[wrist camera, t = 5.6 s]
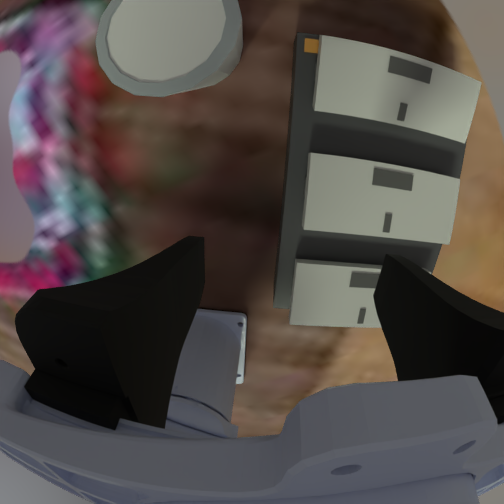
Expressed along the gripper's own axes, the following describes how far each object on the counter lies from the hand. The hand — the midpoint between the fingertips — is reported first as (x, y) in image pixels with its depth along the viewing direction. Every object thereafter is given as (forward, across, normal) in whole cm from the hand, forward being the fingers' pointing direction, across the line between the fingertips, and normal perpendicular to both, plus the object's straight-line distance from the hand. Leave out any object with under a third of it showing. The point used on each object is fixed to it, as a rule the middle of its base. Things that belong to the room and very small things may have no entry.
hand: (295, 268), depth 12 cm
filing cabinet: (+10, -5, -2) cm, 11 cm away
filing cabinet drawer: (+6, -5, -2) cm, 8 cm away
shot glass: (+10, +6, -10) cm, 15 cm away
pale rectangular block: (+6, -5, +5) cm, 9 cm away
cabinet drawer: (+6, -5, -8) cm, 11 cm away
